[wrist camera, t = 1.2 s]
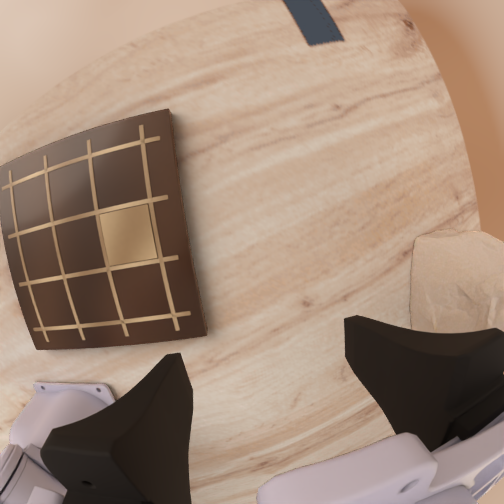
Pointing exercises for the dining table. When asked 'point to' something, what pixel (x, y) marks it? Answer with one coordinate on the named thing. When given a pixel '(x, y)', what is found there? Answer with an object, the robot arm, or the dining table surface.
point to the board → (102, 238)
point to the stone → (457, 282)
